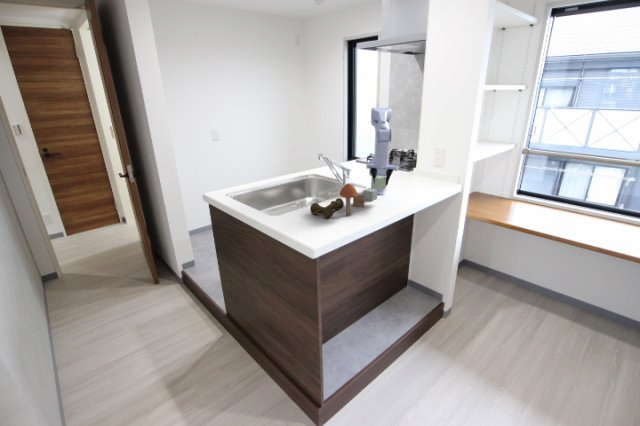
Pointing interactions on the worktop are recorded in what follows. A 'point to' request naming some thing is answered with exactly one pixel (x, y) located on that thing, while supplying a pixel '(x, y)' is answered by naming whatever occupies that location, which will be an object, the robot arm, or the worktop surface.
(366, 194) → the grey cube
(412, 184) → the worktop surface
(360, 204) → the walnut cube
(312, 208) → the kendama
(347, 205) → the mushroom
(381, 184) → the sage cube
